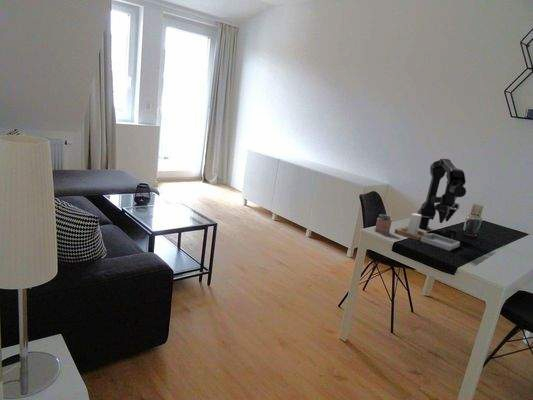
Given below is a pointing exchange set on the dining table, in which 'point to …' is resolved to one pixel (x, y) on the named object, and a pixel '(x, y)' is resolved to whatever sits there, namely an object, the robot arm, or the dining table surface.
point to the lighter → (383, 224)
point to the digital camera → (455, 234)
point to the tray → (440, 242)
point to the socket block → (403, 229)
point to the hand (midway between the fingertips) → (443, 222)
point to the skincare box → (414, 223)
